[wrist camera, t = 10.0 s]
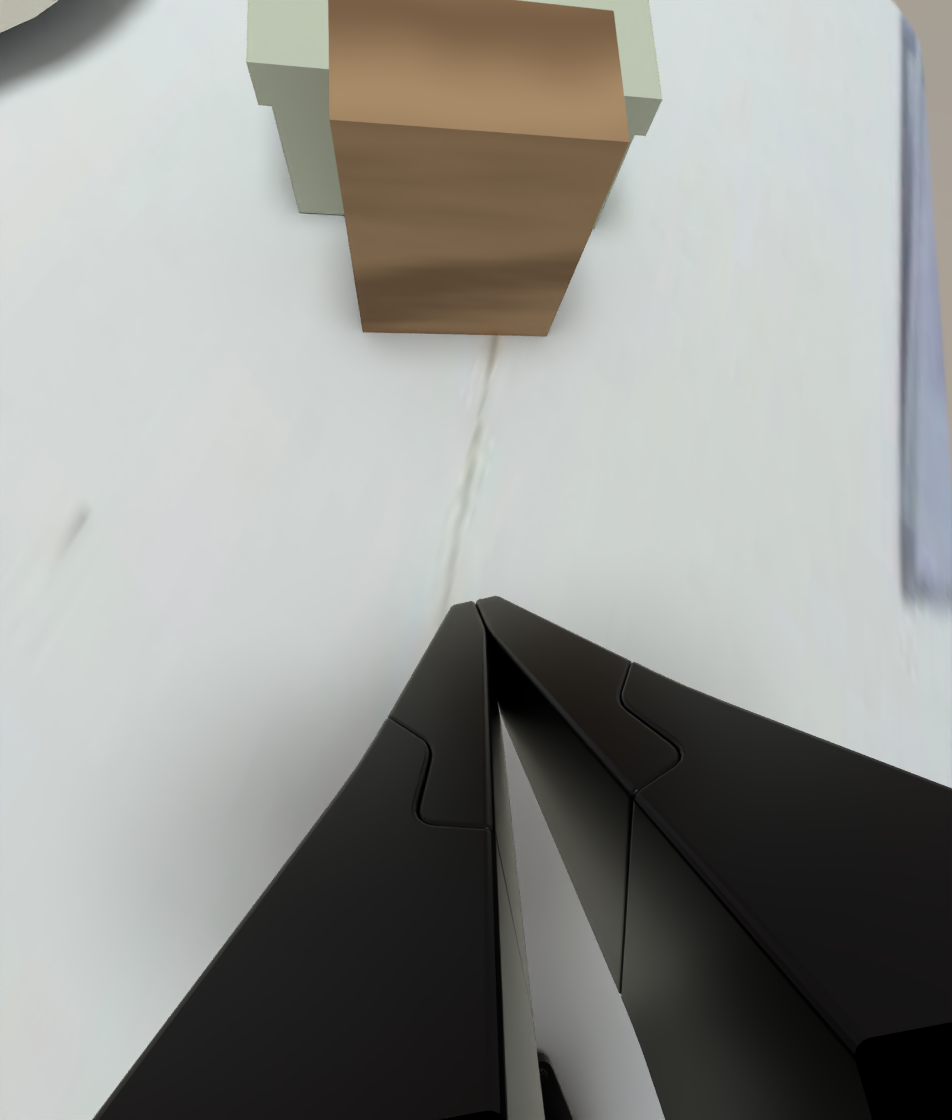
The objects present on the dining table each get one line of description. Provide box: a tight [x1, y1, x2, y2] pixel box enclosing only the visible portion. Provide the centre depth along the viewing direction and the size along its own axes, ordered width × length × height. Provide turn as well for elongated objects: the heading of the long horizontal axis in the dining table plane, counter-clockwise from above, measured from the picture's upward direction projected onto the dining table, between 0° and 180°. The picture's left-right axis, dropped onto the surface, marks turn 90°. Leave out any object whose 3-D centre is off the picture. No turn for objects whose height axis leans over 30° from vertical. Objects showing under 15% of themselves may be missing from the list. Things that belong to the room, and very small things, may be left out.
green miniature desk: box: [246, 0, 662, 228], centre depth 23 cm, size 9×16×6 cm, turn 93°
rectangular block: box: [328, 0, 630, 336], centre depth 21 cm, size 13×9×10 cm
